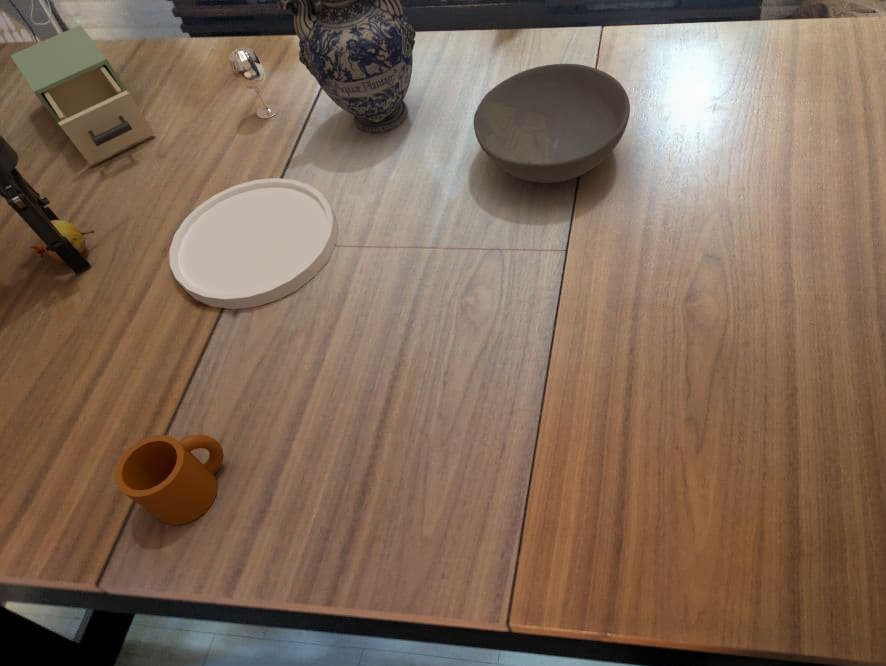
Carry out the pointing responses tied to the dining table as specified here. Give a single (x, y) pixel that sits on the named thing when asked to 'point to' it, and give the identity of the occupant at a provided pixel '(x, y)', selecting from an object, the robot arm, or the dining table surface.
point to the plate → (253, 243)
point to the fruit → (70, 233)
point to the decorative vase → (358, 56)
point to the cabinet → (61, 62)
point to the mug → (170, 476)
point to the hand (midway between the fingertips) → (74, 253)
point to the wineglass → (251, 76)
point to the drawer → (97, 114)
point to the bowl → (552, 121)
